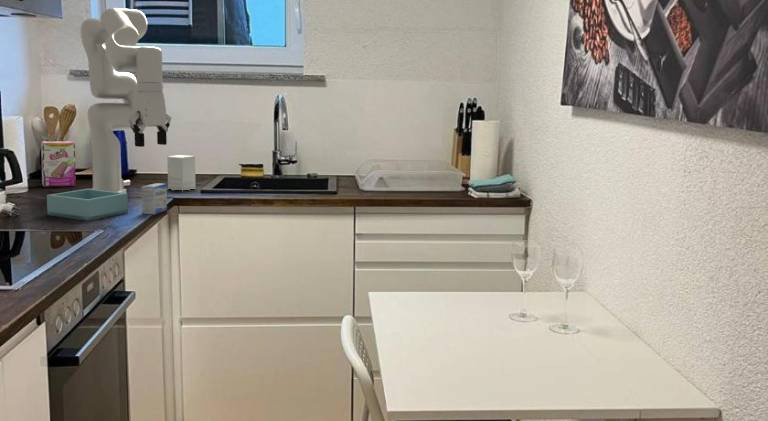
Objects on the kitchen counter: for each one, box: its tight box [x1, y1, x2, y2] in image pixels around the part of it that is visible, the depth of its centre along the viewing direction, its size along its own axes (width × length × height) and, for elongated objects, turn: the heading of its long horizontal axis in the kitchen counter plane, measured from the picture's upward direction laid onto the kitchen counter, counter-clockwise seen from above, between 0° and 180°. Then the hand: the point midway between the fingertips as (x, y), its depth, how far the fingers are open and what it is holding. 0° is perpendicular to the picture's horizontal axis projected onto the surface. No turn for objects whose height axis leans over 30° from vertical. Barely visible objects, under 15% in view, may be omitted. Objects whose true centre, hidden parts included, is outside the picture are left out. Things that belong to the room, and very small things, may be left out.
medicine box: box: [140, 182, 168, 216], centre depth 233 cm, size 8×4×9 cm, turn 168°
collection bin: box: [46, 188, 129, 222], centre depth 227 cm, size 16×16×6 cm
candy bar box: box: [40, 140, 77, 188], centre depth 279 cm, size 11×5×16 cm, turn 121°
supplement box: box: [167, 154, 196, 192], centre depth 280 cm, size 7×7×13 cm
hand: (151, 145), depth 230 cm, fingers open, 9 cm apart
